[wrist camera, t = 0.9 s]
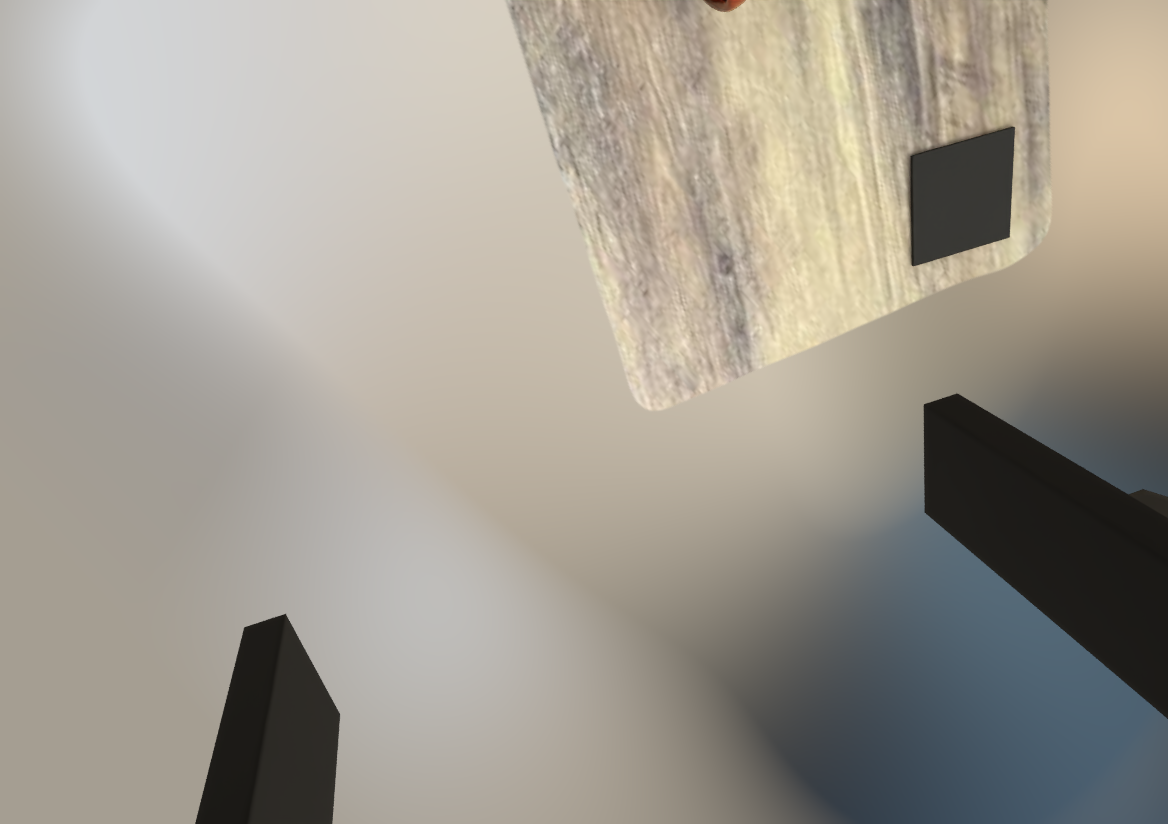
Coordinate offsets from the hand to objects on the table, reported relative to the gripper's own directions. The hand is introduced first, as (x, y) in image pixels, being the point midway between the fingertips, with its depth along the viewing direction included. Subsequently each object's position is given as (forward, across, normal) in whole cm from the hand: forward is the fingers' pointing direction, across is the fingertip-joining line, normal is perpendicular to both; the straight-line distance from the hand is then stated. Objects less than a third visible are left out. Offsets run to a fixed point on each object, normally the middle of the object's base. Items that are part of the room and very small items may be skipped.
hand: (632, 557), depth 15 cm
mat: (+48, +44, -13) cm, 66 cm away
